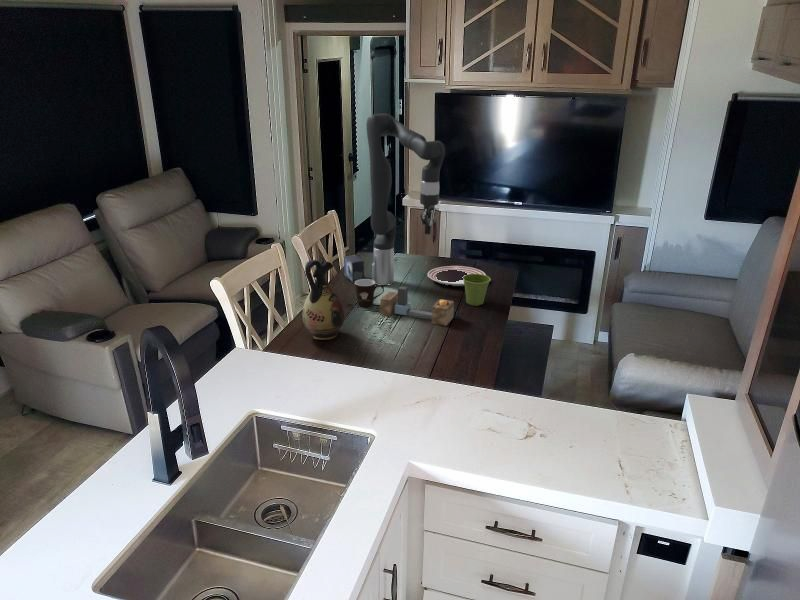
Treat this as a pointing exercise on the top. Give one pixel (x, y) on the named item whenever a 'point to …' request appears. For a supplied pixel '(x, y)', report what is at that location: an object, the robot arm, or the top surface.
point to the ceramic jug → (322, 304)
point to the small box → (353, 267)
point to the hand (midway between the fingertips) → (427, 233)
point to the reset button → (443, 303)
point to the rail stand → (438, 315)
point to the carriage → (402, 301)
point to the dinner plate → (467, 270)
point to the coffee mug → (366, 292)
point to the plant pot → (475, 288)
